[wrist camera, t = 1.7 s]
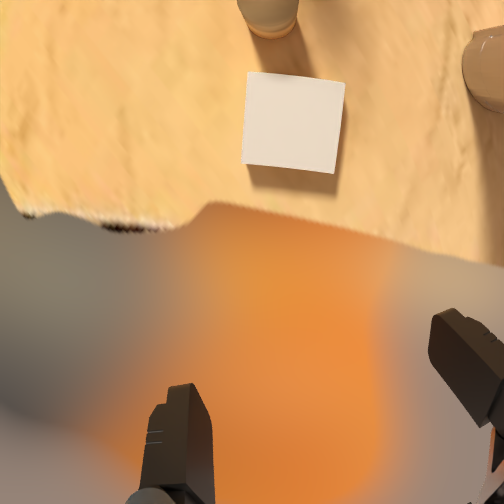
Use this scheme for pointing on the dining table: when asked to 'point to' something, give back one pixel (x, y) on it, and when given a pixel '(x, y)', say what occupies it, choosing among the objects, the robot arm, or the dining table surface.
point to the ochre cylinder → (269, 16)
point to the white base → (292, 121)
